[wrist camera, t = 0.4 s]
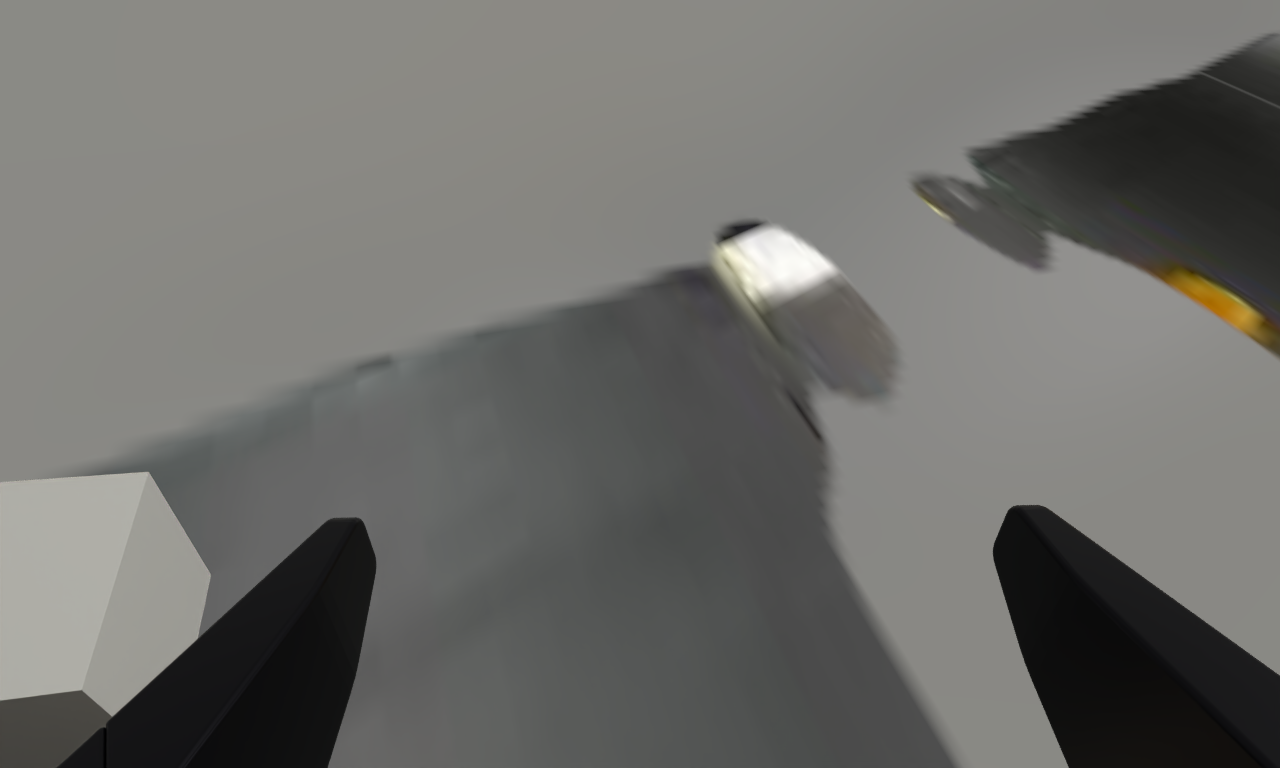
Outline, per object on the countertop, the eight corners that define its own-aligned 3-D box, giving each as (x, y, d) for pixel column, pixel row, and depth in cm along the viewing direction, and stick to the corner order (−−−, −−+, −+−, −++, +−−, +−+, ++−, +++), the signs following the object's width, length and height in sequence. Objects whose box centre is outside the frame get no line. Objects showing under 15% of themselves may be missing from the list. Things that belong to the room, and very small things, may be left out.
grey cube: (171, 767, 20) (81, 690, 16) (-83, 806, 19) (-256, 733, 15) (211, 575, 24) (148, 472, 20) (3, 596, 23) (-114, 490, 19)
